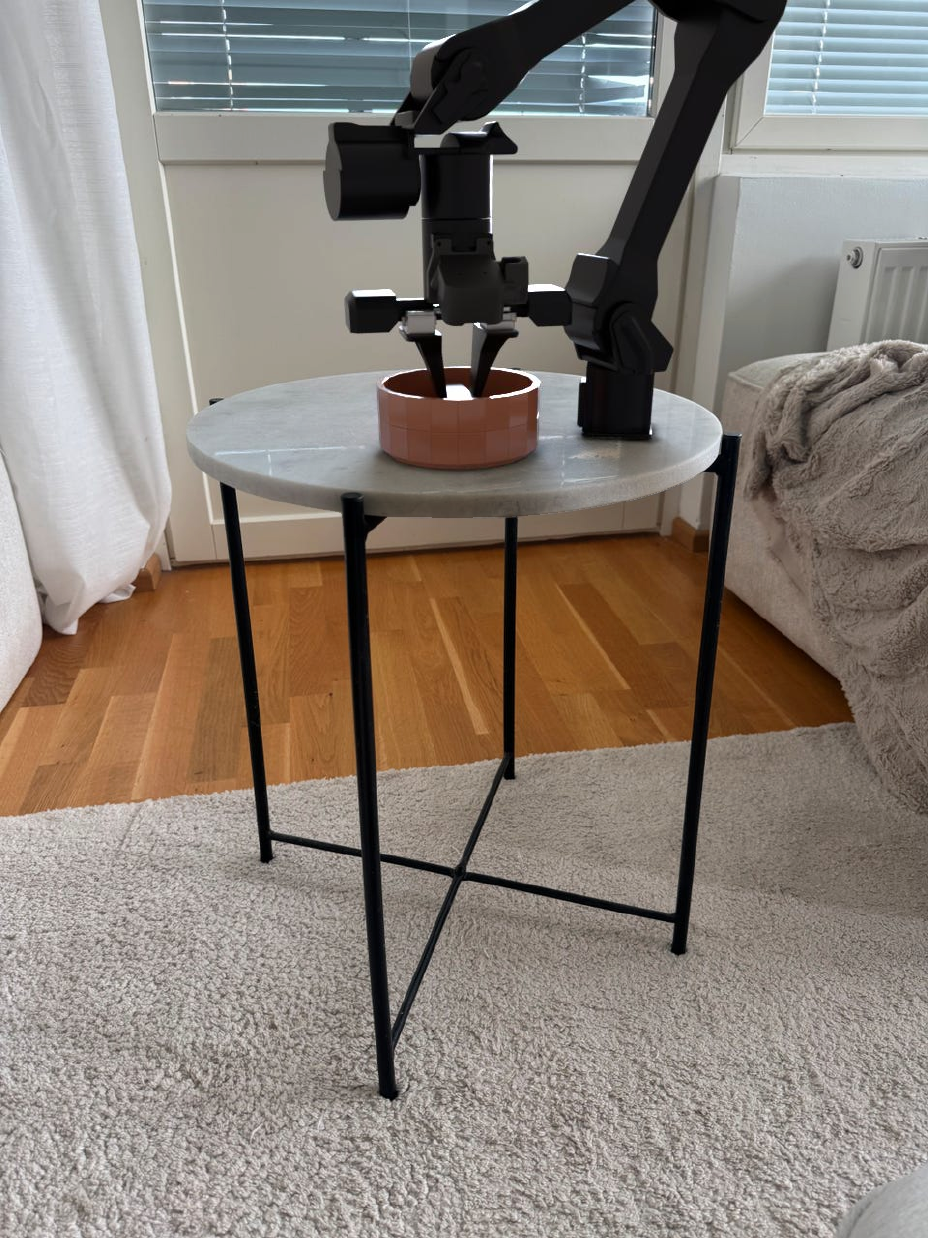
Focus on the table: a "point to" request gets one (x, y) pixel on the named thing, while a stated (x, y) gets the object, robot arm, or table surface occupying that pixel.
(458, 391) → the stick
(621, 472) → the table surface
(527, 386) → the bowl
